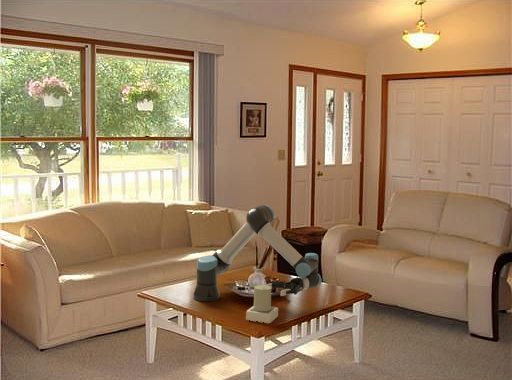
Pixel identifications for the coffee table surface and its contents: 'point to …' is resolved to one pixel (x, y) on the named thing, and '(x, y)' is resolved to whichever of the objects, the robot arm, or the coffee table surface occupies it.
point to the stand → (262, 315)
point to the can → (262, 298)
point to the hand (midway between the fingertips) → (271, 290)
